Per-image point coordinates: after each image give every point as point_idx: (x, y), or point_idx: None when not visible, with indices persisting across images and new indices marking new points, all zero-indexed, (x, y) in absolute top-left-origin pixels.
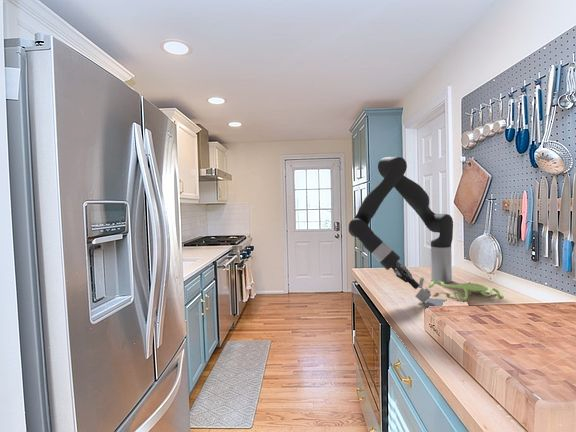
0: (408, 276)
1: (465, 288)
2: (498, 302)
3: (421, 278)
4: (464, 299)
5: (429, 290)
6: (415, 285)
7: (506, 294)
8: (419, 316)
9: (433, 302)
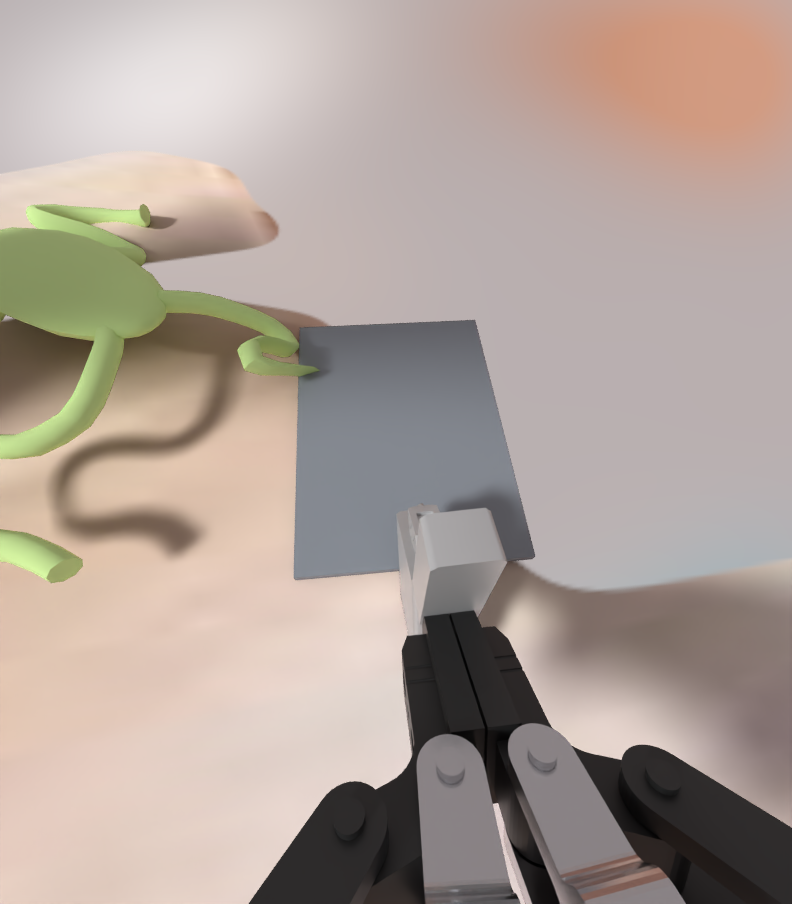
0: (698, 815)
1: (177, 291)
2: (243, 232)
3: (500, 546)
4: (294, 338)
5: (410, 509)
6: (507, 656)
7: (74, 202)
8: (762, 566)
9: None
